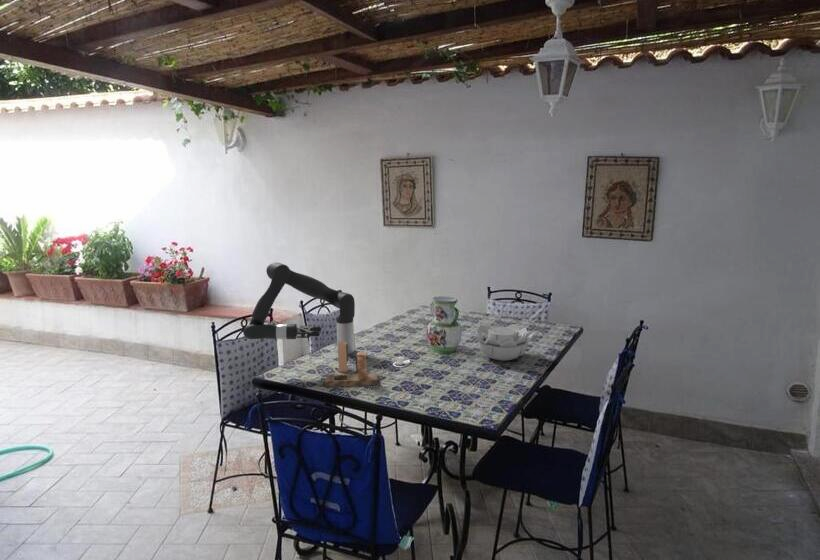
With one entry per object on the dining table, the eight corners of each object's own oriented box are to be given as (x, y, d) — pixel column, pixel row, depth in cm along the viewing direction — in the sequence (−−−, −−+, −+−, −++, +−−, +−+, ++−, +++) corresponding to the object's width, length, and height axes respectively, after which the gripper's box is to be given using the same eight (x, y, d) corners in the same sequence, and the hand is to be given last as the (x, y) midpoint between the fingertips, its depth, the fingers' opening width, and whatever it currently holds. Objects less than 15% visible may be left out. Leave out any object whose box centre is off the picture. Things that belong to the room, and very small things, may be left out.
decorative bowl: (540, 354, 278) (541, 327, 275) (519, 371, 254) (520, 341, 251) (488, 345, 295) (489, 319, 292) (464, 360, 270) (464, 332, 268)
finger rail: (325, 386, 238) (323, 357, 236) (326, 380, 246) (325, 352, 244) (377, 384, 240) (376, 355, 237) (377, 378, 247) (376, 350, 245)
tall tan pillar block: (339, 371, 257) (337, 344, 255) (339, 368, 261) (338, 342, 259) (348, 371, 257) (347, 344, 255) (348, 368, 261) (347, 341, 259)
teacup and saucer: (411, 363, 269) (411, 355, 268) (407, 368, 262) (407, 360, 261) (395, 361, 272) (395, 354, 271) (390, 366, 264) (390, 359, 263)
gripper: (284, 327, 246) (318, 327, 247) (288, 320, 260) (321, 320, 261) (284, 343, 247) (319, 343, 248) (288, 335, 261) (321, 334, 262)
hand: (320, 331), depth 255 cm, fingers open, 8 cm apart
